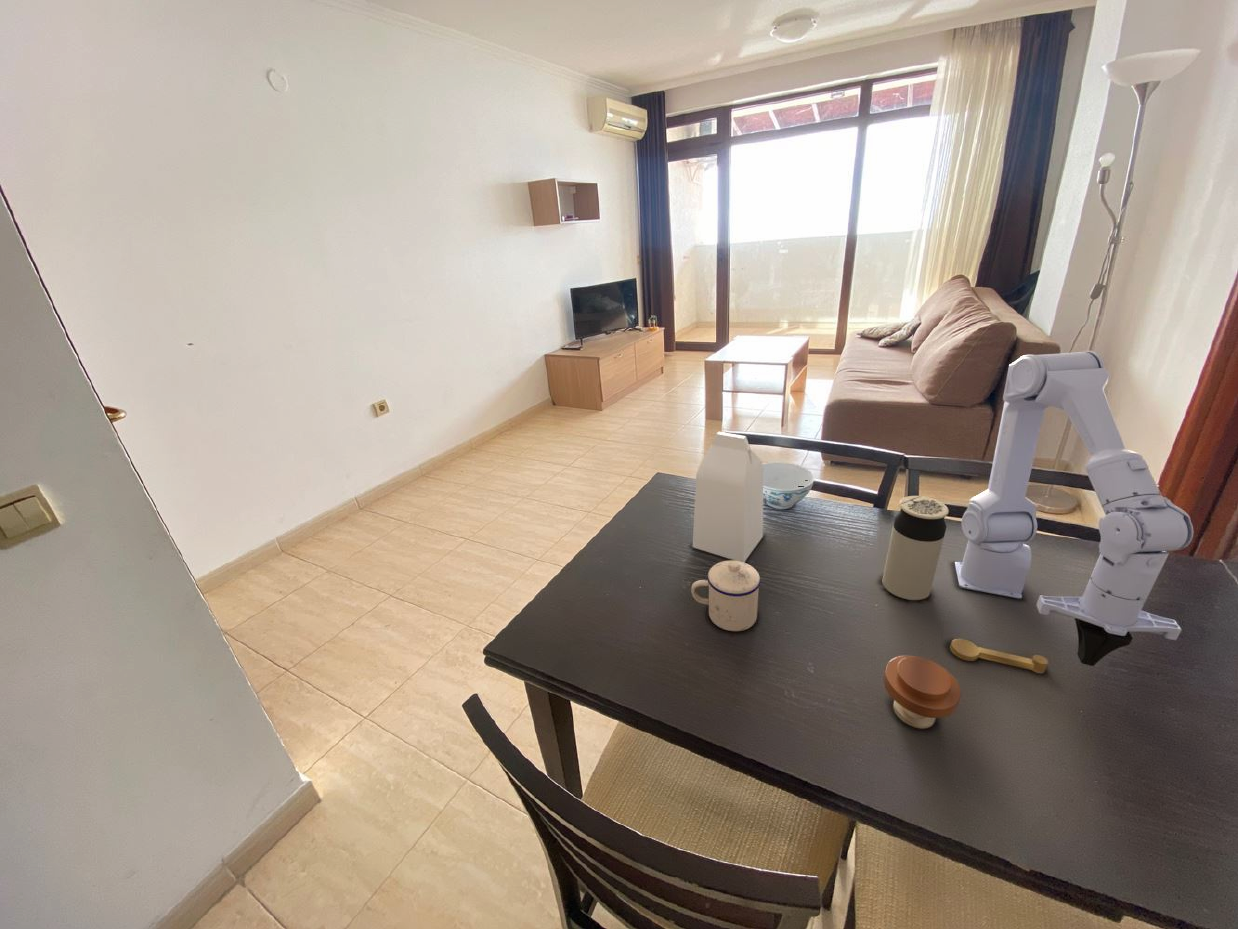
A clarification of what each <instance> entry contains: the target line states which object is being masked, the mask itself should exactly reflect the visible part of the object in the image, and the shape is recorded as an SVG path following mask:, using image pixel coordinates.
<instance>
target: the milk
mask: <svg viewBox="0 0 1238 929" xmlns="http://www.w3.org/2000/svg"><path fill="white" fill-rule="evenodd" d="M750 446H751V445H750V444H749V441H748V438H747V436H746V435H741V434H735V433H729V432H724V431H718V432H717V433H715V436H714V437H713V439H712V441H711V443H710V446H709V447H708V449H707V451H706V453H705V455H704V457H703V458H702V460H701V462H700V464H699V466H698V468H697V471H696V475H695V488H694V489H695V490H694V509H693V513H694V514H693V529H692V548H693V549H697V550H700V551H703V552H707V553H710V554H714V555H716V556H720V557H721V558H722V557H723V558H726V559H728V560H732V561H740V562H744V563H746V561H747V560H748V558H749V557H750V555H751V554H752V552H753V551H754V549H755V548H756V547H757V546H758V544H759V543H760V541H761V540H762V539H763V537H764V500H763V464H764V463H763V461H762V460H761V458H760V457H759V456H758V455H757V454H756V453H755V451H753V450H752V449H751V447H750Z"/></svg>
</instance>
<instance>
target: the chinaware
mask: <svg viewBox="0 0 1238 929" xmlns="http://www.w3.org/2000/svg"><path fill="white" fill-rule="evenodd" d="M762 464H763V501H764V502H765V503H766V504H767V506H769V507H771V508H774V509H776V510H777V509H778V510H786V509H790V508H792V507H793V506H794V505H795V504H797V503H799V502H801V501H802V500H803V499H805V498H806V497H807V495H808V494H810V491H811V490H812V488H813V486H814V482H815V475H814V473H813V472H812V470H810V469H808V468H806V467H804V466H802V465H799V464H795V463H792V462H786V461H785V462H783V461H782V462H781V461H772V462H765V463H762ZM805 480H808V481H805ZM798 486H804V487H798Z"/></svg>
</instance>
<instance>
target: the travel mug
mask: <svg viewBox="0 0 1238 929" xmlns="http://www.w3.org/2000/svg"><path fill="white" fill-rule="evenodd" d="M898 505H899V508H900V510H899V511H898V512H897V513H896V514H895V515H894V520H893V525H892V528H891V535H890V538H889V539H890V540H889V545H888V550H887V555H886V559H885V560H886V561H885V565H884V570H883V575H882V580H881V582H882V586H883V587H884V588H885V589H886V590H887V592H889V593H890V594H892V595H894V596H896V597H898V598H900V599H901V598H902V599H906V600H909V601H920V600H924V599H927V598H928V597H929V596H930V594H931V591H932V588H933V583H934V578H935V574H936V570H937V568H938V567H937V566H938V562H939V559H940V555H941V551H942V548H943V543H944V539H945V535H946V531H947V524H946V521H945V518H946V517H947V516H948V515H949V512H950V510H949V508H948V507H947V505H946V504H944V503H943V502H942V501H940V500H938V499H935V498H932V497H929V496H922V495H909V496H905V497H903V498H901V499H900V500H899V502H898Z"/></svg>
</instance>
